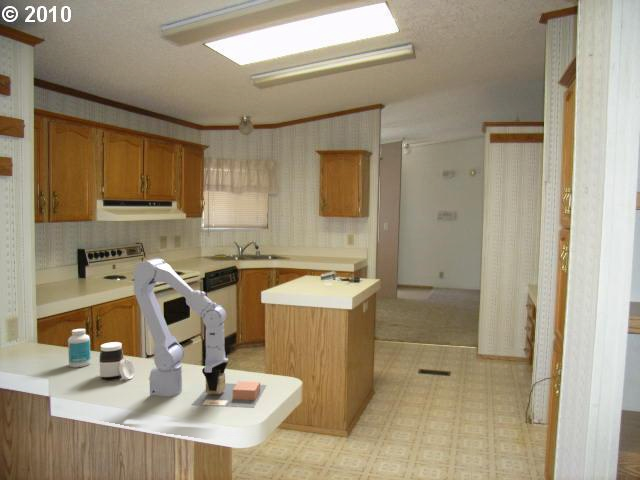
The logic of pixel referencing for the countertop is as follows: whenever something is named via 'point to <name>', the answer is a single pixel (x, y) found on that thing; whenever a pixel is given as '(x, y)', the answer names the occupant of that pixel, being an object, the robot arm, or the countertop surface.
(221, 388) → the oak cube
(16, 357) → the countertop surface
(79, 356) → the pill bottle
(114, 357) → the spread jar
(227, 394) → the grey square mat
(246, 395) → the terracotta slab
